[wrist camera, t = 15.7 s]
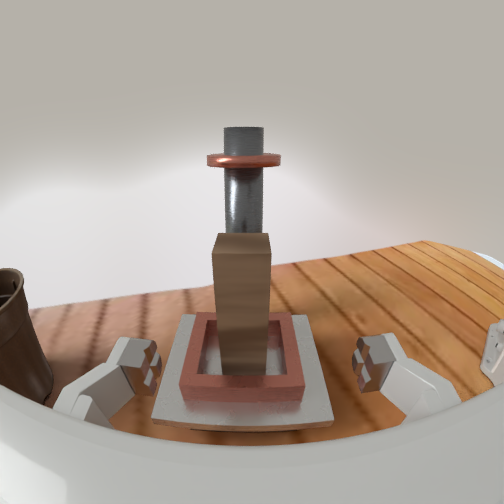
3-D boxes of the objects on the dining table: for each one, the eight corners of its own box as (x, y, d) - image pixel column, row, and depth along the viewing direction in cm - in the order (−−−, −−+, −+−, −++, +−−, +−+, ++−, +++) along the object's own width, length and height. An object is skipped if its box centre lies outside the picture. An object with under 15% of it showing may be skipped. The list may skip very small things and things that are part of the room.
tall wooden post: (265, 376, 26) (271, 253, 21) (222, 375, 26) (211, 253, 20) (264, 347, 30) (268, 233, 25) (225, 347, 30) (218, 233, 25)
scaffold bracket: (321, 445, 23) (404, 126, 11) (166, 444, 23) (73, 131, 11) (293, 312, 47) (305, 130, 35) (197, 311, 47) (183, 131, 35)
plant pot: (52, 340, 36) (20, 256, 29) (80, 401, 26) (26, 301, 19) (-13, 370, 24) (-55, 290, 18) (-2, 440, 15) (-74, 349, 8)
